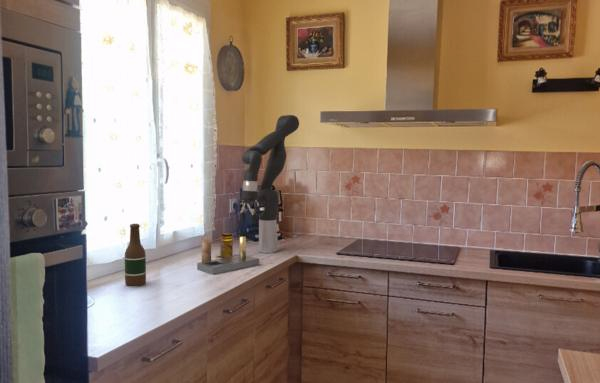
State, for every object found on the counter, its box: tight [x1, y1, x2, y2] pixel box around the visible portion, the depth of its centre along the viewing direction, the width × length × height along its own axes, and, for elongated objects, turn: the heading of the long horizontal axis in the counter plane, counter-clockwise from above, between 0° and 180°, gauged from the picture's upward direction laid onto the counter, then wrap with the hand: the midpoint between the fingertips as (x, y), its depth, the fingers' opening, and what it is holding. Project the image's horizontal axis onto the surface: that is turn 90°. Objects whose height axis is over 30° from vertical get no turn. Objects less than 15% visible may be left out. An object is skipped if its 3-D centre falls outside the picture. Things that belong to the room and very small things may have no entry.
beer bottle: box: [124, 223, 147, 287], centre depth 185 cm, size 8×8×24 cm
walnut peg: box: [201, 237, 212, 262], centre depth 221 cm, size 4×4×12 cm
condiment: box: [213, 232, 234, 259], centre depth 236 cm, size 7×8×12 cm
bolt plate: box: [196, 236, 260, 275], centre depth 215 cm, size 26×12×13 cm, turn 136°
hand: (248, 221), depth 240 cm, fingers open, 8 cm apart
